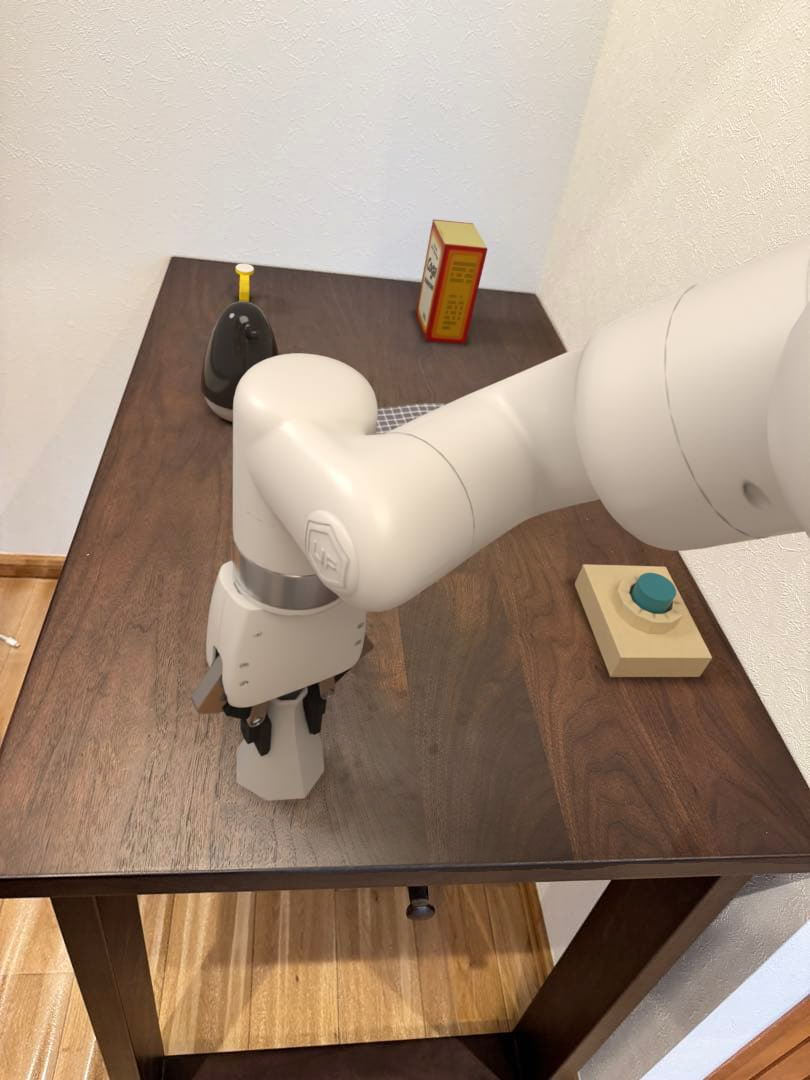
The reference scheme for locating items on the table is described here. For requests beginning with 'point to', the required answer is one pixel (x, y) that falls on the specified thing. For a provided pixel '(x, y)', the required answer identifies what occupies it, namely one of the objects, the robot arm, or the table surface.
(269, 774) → the flask
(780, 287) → the robot arm
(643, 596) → the teal disc
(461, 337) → the baking soda box
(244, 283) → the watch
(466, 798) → the table surface
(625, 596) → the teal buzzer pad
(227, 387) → the black egg shape
